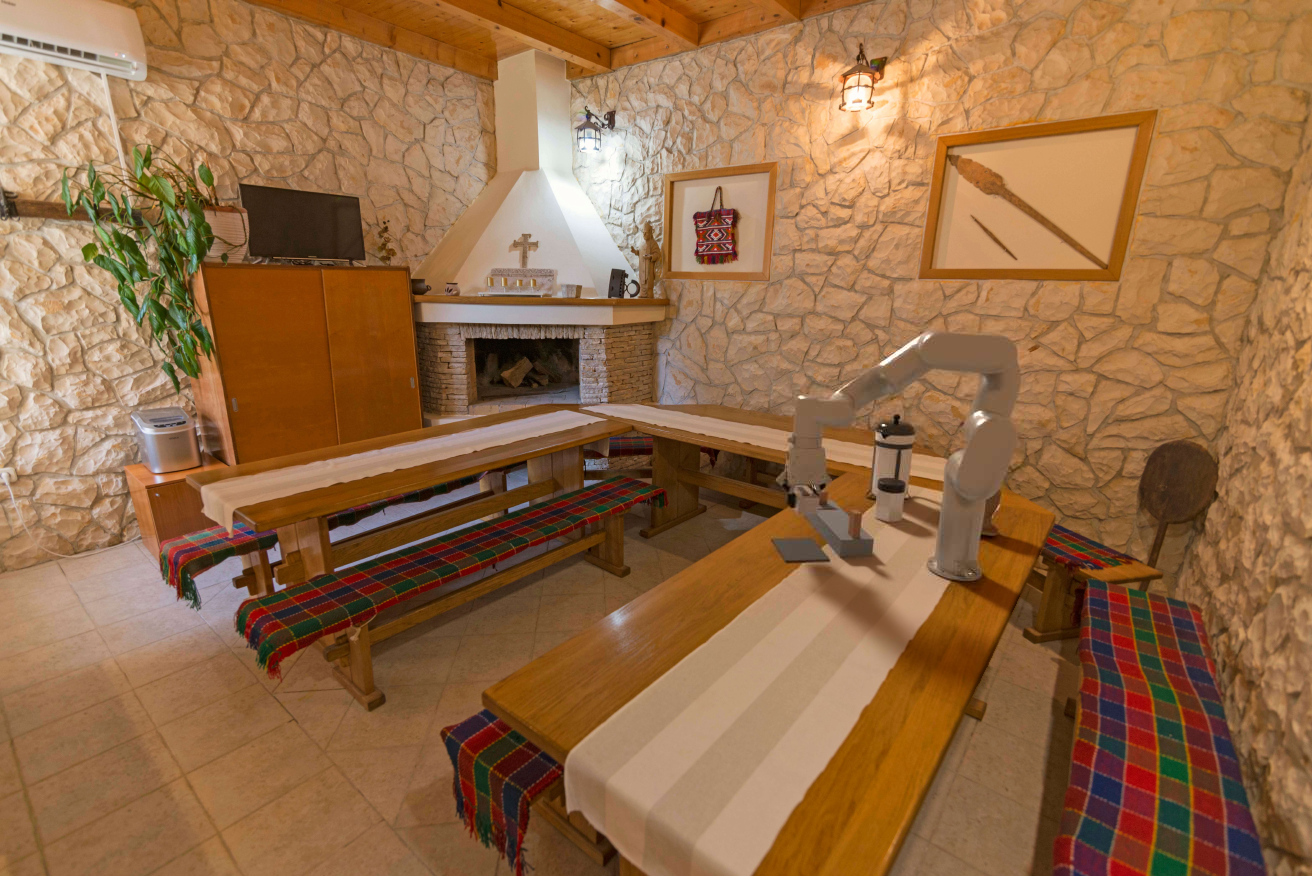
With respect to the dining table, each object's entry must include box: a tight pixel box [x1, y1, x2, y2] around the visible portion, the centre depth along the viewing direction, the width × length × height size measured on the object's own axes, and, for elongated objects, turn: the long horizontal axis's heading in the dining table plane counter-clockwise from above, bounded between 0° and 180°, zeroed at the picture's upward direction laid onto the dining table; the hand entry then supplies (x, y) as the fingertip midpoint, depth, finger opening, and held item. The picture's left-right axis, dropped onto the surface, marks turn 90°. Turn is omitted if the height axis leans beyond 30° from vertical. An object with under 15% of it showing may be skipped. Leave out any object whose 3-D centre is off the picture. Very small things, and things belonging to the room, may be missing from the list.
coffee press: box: [865, 413, 917, 501], centre depth 194 cm, size 17×16×30 cm
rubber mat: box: [770, 536, 831, 563], centre depth 156 cm, size 14×12×1 cm
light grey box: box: [786, 485, 819, 515], centre depth 153 cm, size 10×6×5 cm, turn 4°
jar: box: [874, 478, 906, 523], centre depth 179 cm, size 9×8×12 cm
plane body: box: [802, 489, 875, 558], centre depth 165 cm, size 30×9×12 cm, turn 4°
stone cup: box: [981, 488, 1002, 537], centre depth 169 cm, size 15×12×15 cm
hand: (801, 505), depth 153 cm, fingers closed on light grey box, 5 cm apart
